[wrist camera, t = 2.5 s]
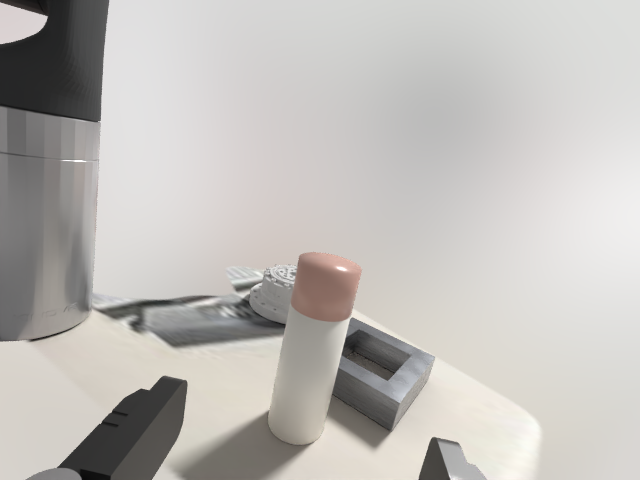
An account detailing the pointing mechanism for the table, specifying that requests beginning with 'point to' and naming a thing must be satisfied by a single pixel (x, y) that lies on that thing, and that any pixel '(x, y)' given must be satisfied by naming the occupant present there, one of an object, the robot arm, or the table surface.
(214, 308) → the table surface
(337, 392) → the socket
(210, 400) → the table surface
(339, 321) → the peg
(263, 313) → the mechanical component
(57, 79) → the robot arm
